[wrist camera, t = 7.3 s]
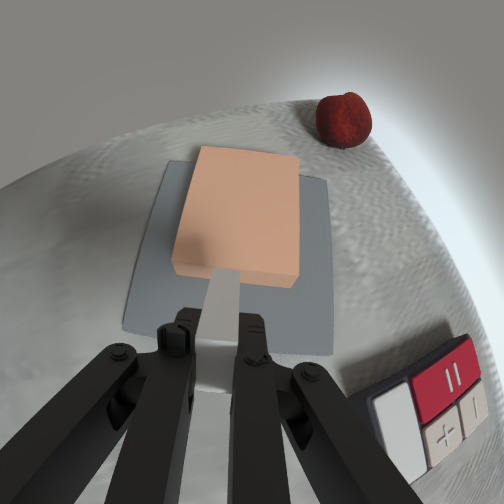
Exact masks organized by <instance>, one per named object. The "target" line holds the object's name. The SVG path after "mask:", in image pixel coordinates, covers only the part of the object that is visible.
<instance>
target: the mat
mask: <svg viewBox="0 0 504 504" xmlns="http://www.w3.org/2000/svg"><path fill="white" fill-rule="evenodd" d="M195 166H196V163H190V162H176V161H170V162H169V165H168V167H167V170H166V173H165V175H164V178H163V181H162V184H161V186H160V189H159V192H158V195H157V198H156V201H155V204H154V207H153V210H152V213H151V216H150V219H149V223H148V226H147V229H146V232H145V236H144V239H143V243H142V246H141V250H140V253H139V257H138V261H137V264H136V268H135V272H134V276H133V280H132V284H131V288H130V293H129V297H128V302H127V306H126V311H125V316H124V320H123V326H122V330H123V331H126V332H131V333H135V334H140V335H145V336H150V337H156V338H157V329H158V328H159V327H160V326H162V325H164V324H167V323H174V320H175V318H176V315H177V313H178V311H180V310H181V309H182V308H184V307H189V308H197V309H203V305H204V301H205V297H206V294H207V290H208V286H209V282H210V279H205V278H197V277H189V276H182V275H177V274H176V272H175V269H174V267H173V264H172V262H171V258H172V253H173V249H174V245H175V241H176V236H177V232H178V228H179V224H180V220H181V217H182V213H183V209H184V205H185V201H186V198H187V194H188V191H189V187H190V183H191V180H192V177H193V173H194V170H195ZM299 219H300V235H299V276H298V278H297V280H296V281H295V283H294V284H293V286H292V287H291V288H282V287H273V286H263V285H254V284H246V283H240V294H239V312H243V313H254V314H260V316H261V317H262V318H263V319H264V322H265V331H266V339H267V347H268V352H270V353H284V354H301V355H329V356H330V355H333V327H334V304H333V263H332V242H331V226H330V212H329V200H328V189H327V180H323V179H317V178H311V177H306V176H299Z"/></svg>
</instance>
